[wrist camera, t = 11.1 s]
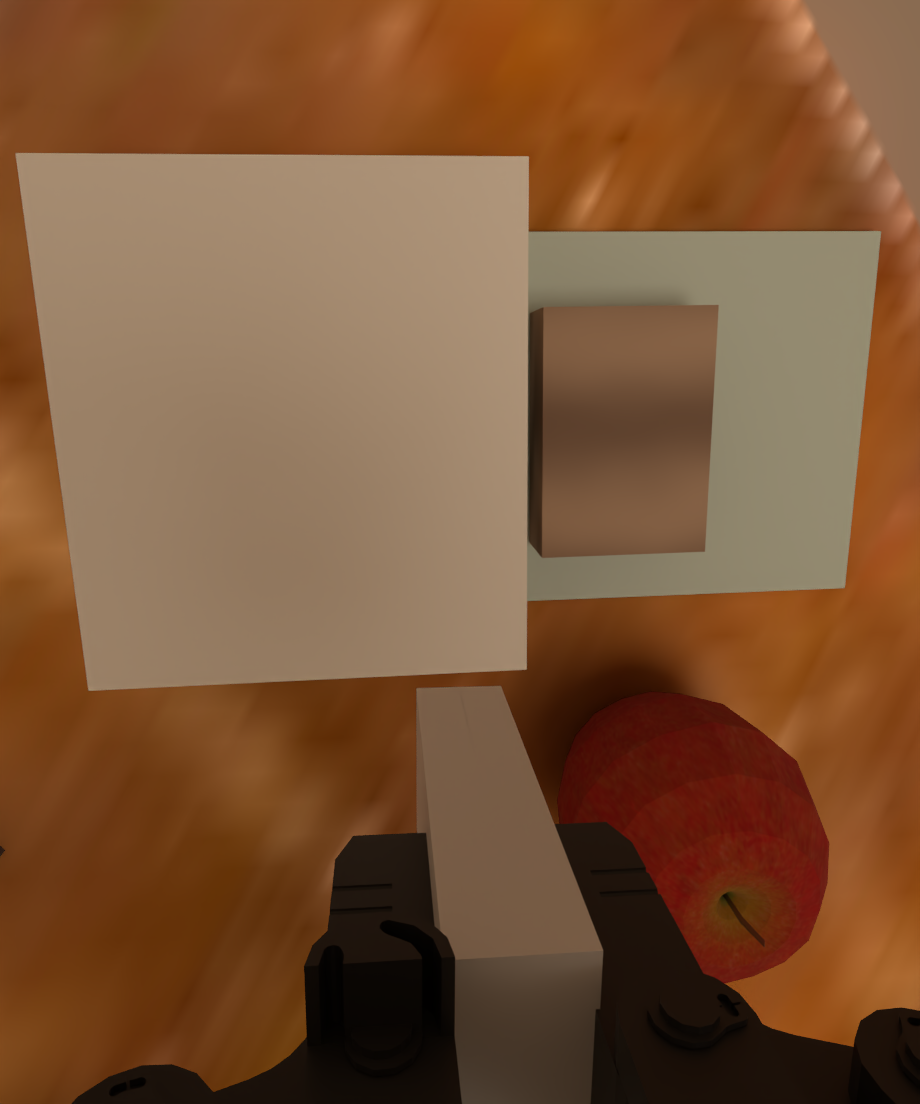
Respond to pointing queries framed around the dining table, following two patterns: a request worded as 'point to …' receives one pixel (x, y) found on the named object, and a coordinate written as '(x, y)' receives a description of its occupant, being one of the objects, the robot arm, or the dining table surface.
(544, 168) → the dining table surface
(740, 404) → the mat
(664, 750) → the dark red rounded piece
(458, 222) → the cream flat block
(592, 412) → the walnut block
